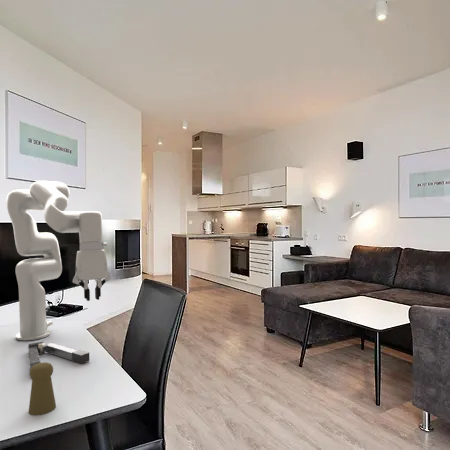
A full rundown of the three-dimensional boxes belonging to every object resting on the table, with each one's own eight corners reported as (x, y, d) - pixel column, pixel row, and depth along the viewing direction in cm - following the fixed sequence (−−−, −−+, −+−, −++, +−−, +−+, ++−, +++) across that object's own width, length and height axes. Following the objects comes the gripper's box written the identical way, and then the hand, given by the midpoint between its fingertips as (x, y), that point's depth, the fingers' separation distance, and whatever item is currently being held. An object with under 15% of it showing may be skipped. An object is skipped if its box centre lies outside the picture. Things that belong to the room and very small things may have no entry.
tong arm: (37, 353, 128) (36, 344, 128) (51, 348, 132) (51, 340, 132) (74, 366, 115) (74, 356, 115) (89, 360, 120) (89, 350, 120)
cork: (44, 416, 86) (43, 369, 86) (22, 414, 87) (21, 368, 87) (61, 403, 92) (60, 360, 92) (40, 401, 93) (39, 359, 93)
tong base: (26, 352, 129) (26, 344, 129) (43, 349, 132) (43, 341, 132) (30, 378, 108) (30, 368, 108) (51, 373, 110) (50, 364, 110)
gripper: (112, 245, 134) (113, 295, 134) (64, 247, 125) (66, 300, 125) (117, 246, 127) (118, 298, 127) (67, 248, 119) (69, 304, 119)
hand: (92, 299), depth 126 cm, fingers open, 2 cm apart
